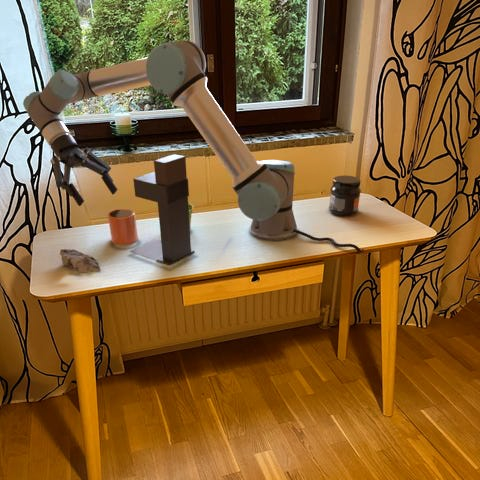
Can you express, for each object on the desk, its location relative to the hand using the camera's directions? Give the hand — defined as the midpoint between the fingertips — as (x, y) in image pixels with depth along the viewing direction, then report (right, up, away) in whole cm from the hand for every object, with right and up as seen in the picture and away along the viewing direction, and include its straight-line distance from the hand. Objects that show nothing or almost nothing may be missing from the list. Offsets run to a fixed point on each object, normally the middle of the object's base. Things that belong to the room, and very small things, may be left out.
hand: (98, 197), depth 159 cm
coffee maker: (+21, -19, -7) cm, 29 cm away
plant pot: (+25, -10, +8) cm, 28 cm away
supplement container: (+82, 0, +24) cm, 85 cm away
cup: (+8, -14, +1) cm, 17 cm away
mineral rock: (-1, -24, -14) cm, 27 cm away
